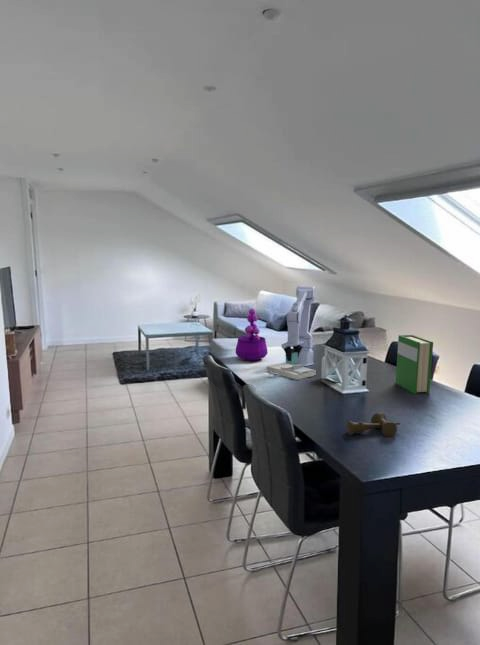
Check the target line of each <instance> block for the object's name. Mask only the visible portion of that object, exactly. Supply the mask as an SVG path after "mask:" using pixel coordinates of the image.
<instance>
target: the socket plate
mask: <svg viewBox="0 0 480 645" xmlns="http://www.w3.org/2000/svg"><path fill="white" fill-rule="evenodd" d="M293 365H295V364H293ZM293 365H290V364H286V361H285V362H281V363H276V364H270V365H266V371H267V372H271V373H274V374H276V375H280V376H284V377H285V378H290V379H293V380H301V379H306V378H309V377H313V376H314V375H315V376H316V372H317V371H316V370H315V369H311V368H308V367H306V366H304V367H302V368H305V369H308V370H311V371H309V372H304V373H300V372H296V371H293V370H292V366H293Z"/></svg>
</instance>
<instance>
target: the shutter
mask: <svg viewBox="0 0 480 645" xmlns="http://www.w3.org/2000/svg"><path fill="white" fill-rule="evenodd" d="M305 368H306V367H305ZM305 368H302V364H298V365H295V364H294V365H293V366H292V370H293V371H296V372H300V373H304V372H309V371H311V370H308V369H309V368H308V369H305Z"/></svg>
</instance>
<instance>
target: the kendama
mask: <svg viewBox="0 0 480 645" xmlns="http://www.w3.org/2000/svg"><path fill="white" fill-rule="evenodd" d="M398 425H401V422H392V421H387V416H386V414H385V413H382V412H376V413H374V414H373V415H372V416H371V420H370V422H362V421H361V420H358V421H351V420H347V422H346V430H347V433H348V434H349V435H350V436H353V435H354V434H356V433H360V434H364V432H366V431H369V430H372V429H381V433H382V435H383V436H384V437H386V438H390V437H394V436H395V435H396V434H397V430H398Z"/></svg>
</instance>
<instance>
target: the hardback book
mask: <svg viewBox="0 0 480 645" xmlns="http://www.w3.org/2000/svg"><path fill="white" fill-rule="evenodd" d="M397 339H398V340H397V353H396V354H397V355H396V373H395V384H396V385H398V386H400V387H401V388H403V389H405V390H406V391H408V392H410V393H411V394H414V395H417V393H426V394H430V389H431V379H432V378H431V376H432V375H431V374H432V364H433V351H434V350H433V349H434V341H432V340H429V339H425V338H423V337H419V336H417V335H414V334H399V335H398V338H397Z"/></svg>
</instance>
